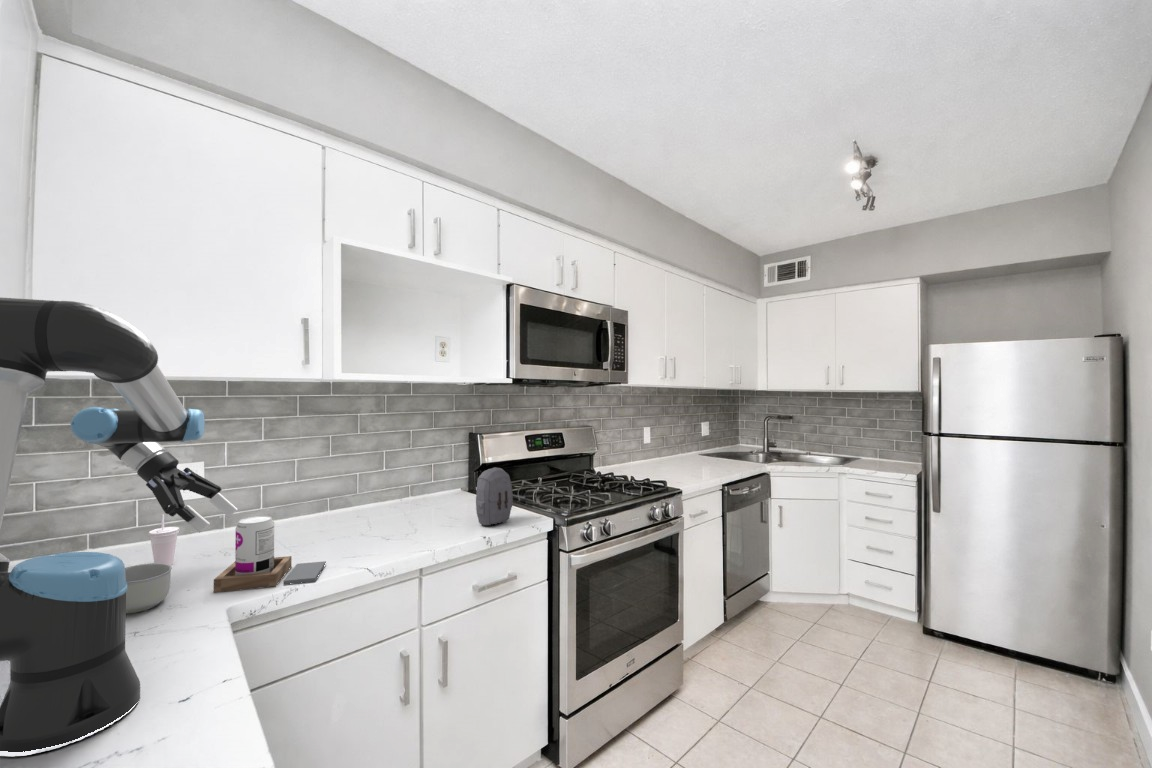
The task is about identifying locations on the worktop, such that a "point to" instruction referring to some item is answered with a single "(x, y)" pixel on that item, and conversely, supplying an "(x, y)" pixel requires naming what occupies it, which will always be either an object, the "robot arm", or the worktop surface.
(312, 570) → the rubber mat
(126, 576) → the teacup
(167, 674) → the worktop surface
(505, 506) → the soft grey pack
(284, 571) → the pocket frame
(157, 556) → the smoothie
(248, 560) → the supplement can
